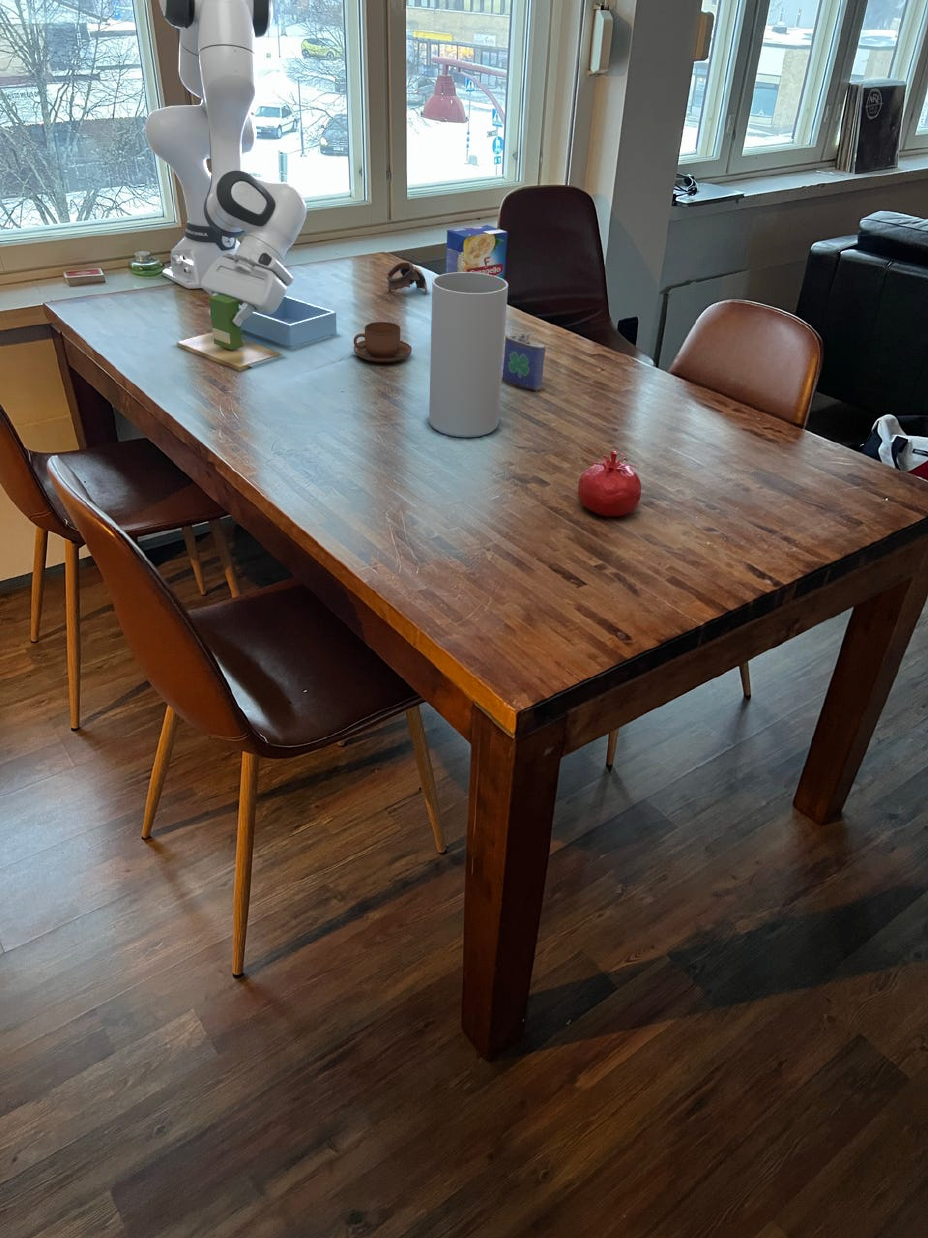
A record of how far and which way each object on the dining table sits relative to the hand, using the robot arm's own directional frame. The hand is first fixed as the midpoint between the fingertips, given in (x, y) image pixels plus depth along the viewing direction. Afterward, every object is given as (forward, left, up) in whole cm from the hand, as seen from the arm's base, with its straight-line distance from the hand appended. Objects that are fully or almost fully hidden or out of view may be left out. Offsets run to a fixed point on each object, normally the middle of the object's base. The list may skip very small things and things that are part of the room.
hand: (223, 320), depth 188 cm
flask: (+54, +29, -7) cm, 62 cm away
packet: (0, +1, -5) cm, 5 cm away
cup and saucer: (+24, +21, -7) cm, 33 cm away
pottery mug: (-4, +60, -7) cm, 61 cm away
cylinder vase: (+58, +6, -7) cm, 59 cm away
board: (0, +1, -7) cm, 7 cm away
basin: (0, +17, -7) cm, 18 cm away
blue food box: (+28, +46, -7) cm, 55 cm away
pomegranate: (+94, -3, -7) cm, 94 cm away
